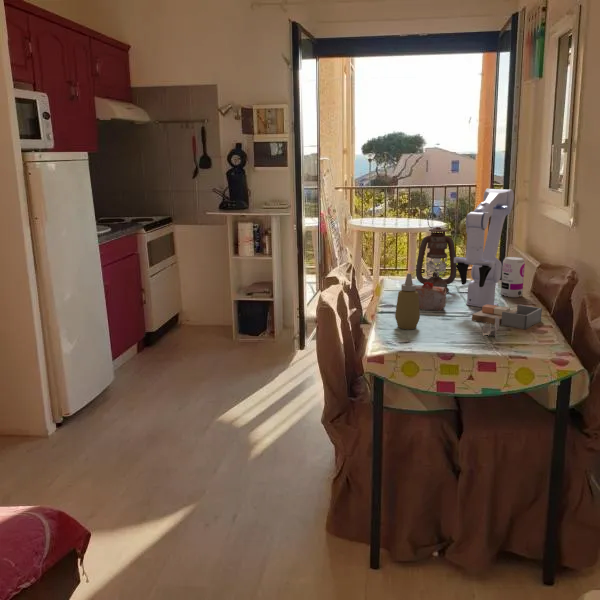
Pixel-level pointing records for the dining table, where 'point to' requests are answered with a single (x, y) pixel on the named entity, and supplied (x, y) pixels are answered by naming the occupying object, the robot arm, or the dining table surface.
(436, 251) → the lantern
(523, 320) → the box
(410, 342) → the dining table surface
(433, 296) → the food item
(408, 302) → the squeeze bottle
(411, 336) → the dining table surface
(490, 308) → the tile terracotta
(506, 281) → the supplement can
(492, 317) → the walnut plate
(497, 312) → the tile cream
